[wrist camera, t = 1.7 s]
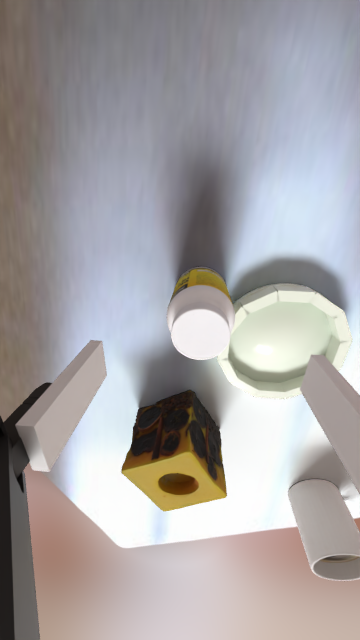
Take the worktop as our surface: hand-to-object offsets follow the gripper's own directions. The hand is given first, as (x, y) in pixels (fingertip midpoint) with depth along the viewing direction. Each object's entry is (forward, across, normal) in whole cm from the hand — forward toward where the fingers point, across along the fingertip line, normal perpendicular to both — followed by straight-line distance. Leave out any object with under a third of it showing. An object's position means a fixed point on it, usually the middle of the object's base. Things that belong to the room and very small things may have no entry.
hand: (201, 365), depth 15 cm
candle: (+15, -2, -22) cm, 26 cm away
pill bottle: (+15, 0, 0) cm, 15 cm away
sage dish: (+14, +10, -6) cm, 18 cm away
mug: (+15, +24, -38) cm, 48 cm away
